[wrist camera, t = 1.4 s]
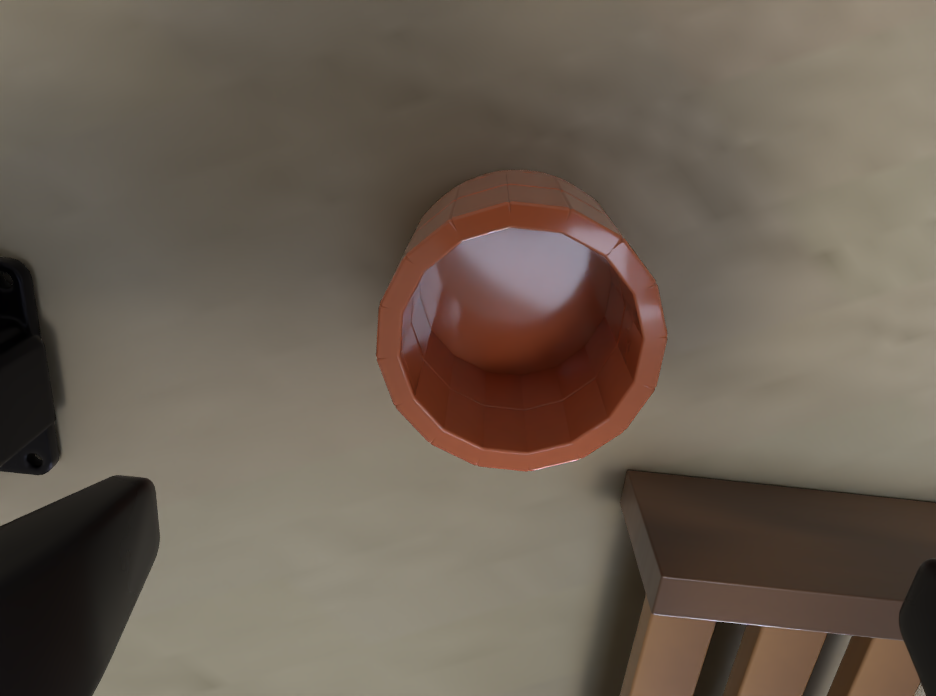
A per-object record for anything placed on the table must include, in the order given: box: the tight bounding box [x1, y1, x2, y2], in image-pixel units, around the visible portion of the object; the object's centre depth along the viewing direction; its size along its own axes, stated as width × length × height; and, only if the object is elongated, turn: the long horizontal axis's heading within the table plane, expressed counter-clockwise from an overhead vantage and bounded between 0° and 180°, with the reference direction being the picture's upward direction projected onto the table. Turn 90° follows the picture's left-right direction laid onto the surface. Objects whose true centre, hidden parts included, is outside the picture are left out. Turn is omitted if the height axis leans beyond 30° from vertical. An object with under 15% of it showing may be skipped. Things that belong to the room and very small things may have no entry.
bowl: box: [376, 169, 668, 471], centre depth 16 cm, size 6×6×4 cm
